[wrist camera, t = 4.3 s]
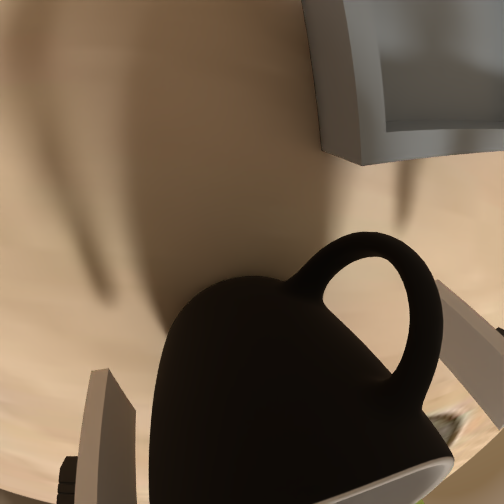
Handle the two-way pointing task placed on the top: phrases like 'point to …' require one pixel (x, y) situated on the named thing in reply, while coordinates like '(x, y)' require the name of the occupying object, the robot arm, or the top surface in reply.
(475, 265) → the top surface
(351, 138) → the gray tray
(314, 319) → the mug
